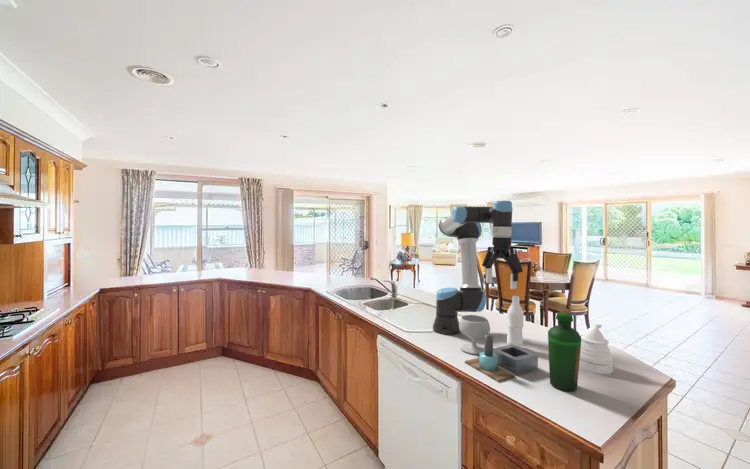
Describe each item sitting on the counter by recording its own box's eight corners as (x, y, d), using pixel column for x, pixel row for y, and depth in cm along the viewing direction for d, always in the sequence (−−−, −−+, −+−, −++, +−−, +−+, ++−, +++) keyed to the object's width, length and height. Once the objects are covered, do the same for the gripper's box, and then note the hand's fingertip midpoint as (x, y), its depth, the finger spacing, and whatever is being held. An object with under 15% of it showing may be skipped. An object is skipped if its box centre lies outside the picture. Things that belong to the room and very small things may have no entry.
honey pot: (593, 359, 136) (594, 318, 135) (620, 373, 123) (622, 328, 123) (567, 361, 134) (568, 320, 133) (593, 375, 121) (594, 329, 121)
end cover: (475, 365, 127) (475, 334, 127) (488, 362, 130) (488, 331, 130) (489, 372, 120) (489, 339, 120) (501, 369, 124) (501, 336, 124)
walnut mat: (464, 362, 131) (464, 360, 131) (480, 359, 135) (480, 357, 135) (497, 382, 115) (497, 379, 115) (515, 377, 119) (515, 375, 119)
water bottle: (524, 351, 144) (525, 298, 143) (508, 350, 145) (509, 297, 145) (520, 345, 151) (521, 294, 150) (505, 344, 152) (506, 294, 152)
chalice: (474, 358, 136) (474, 324, 135) (452, 347, 148) (452, 316, 148) (496, 352, 142) (496, 320, 142) (473, 342, 155) (474, 312, 154)
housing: (491, 362, 131) (491, 348, 131) (512, 357, 137) (512, 344, 137) (515, 375, 120) (516, 360, 120) (537, 369, 125) (538, 355, 125)
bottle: (588, 391, 109) (589, 312, 108) (564, 395, 106) (566, 314, 105) (561, 377, 119) (563, 305, 118) (539, 381, 116) (541, 307, 115)
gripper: (474, 235, 142) (473, 281, 143) (519, 238, 120) (518, 292, 120) (487, 235, 145) (486, 280, 146) (533, 238, 123) (531, 290, 123)
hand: (500, 285), depth 133 cm, fingers open, 13 cm apart
